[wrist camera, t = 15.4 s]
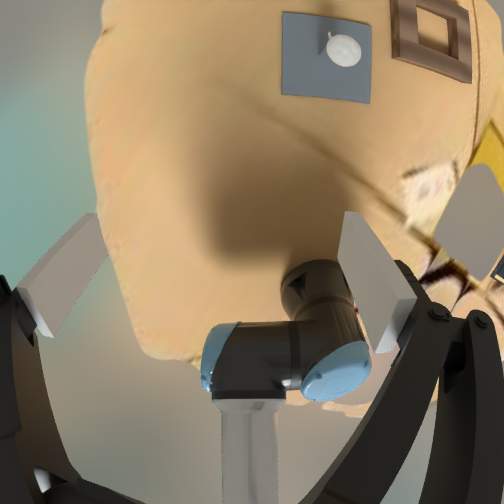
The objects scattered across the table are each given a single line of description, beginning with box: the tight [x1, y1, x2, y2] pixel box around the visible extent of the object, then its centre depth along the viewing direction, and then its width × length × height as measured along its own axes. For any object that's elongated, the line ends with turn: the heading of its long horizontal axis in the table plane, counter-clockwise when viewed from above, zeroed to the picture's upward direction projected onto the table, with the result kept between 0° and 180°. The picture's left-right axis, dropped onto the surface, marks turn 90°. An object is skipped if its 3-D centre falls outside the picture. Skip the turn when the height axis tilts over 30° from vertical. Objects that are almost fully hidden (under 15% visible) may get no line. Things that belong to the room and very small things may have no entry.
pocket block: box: [390, 0, 472, 84], centre depth 27 cm, size 16×16×3 cm
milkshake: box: [318, 31, 361, 67], centre depth 29 cm, size 4×5×10 cm
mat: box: [282, 13, 371, 104], centre depth 33 cm, size 14×14×1 cm
